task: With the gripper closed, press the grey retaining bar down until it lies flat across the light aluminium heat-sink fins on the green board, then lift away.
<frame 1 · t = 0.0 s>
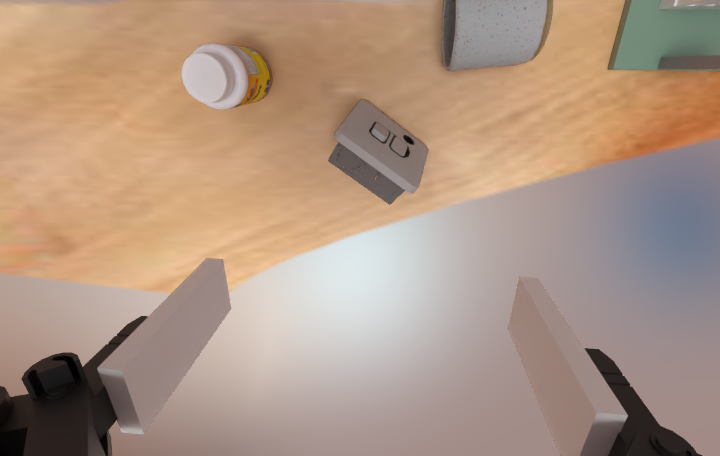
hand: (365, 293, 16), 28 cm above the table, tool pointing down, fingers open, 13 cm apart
supplement bottle: (249, 75, 40), on the table
ceramic mug: (480, 11, 35), on the table
electrical switch: (383, 143, 41), on the table
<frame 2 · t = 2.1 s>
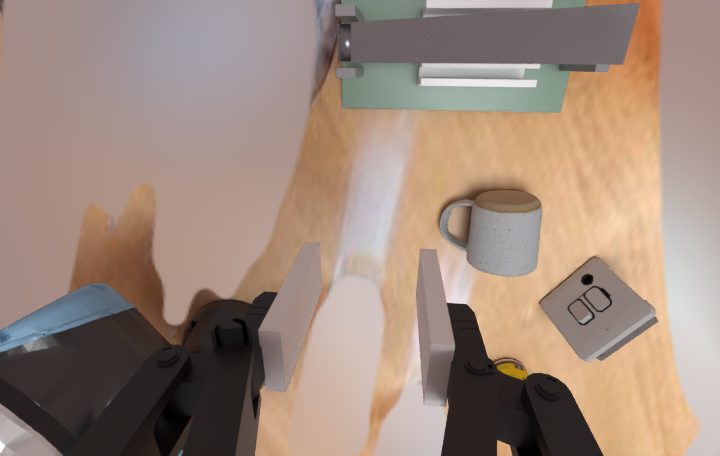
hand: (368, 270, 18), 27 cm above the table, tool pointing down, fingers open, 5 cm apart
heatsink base: (453, 48, 37), on the table
supplement bottle: (505, 369, 54), on the table
grey retaining bar: (454, 40, 26), point 13 cm above the table, hinge at 30.0°
ceramic mug: (483, 220, 45), on the table
electrical switch: (580, 288, 47), on the table
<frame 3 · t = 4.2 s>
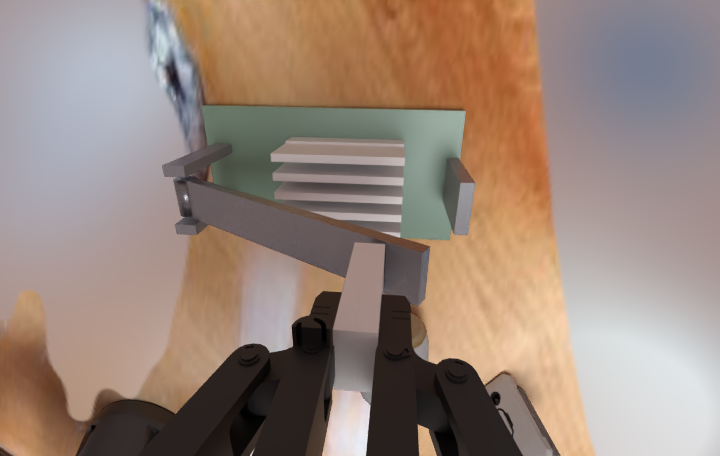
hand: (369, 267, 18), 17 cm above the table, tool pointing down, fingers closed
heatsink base: (332, 173, 34), on the table
grey retaining bar: (274, 225, 23), point 13 cm above the table, hinge at 29.6°, touching gripper
ceramic mug: (381, 333, 42), on the table
electrical switch: (494, 399, 45), on the table
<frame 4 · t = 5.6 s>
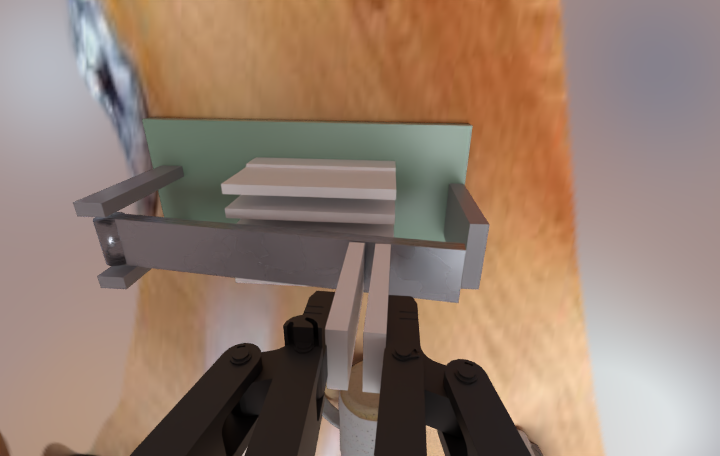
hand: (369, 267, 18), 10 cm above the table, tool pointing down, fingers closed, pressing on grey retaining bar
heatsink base: (309, 200, 28), on the table
grey retaining bar: (267, 254, 20), point 9 cm above the table, hinge at 6.2°, touching gripper
ceramic mug: (368, 383, 36), on the table
electrical switch: (503, 455, 38), on the table
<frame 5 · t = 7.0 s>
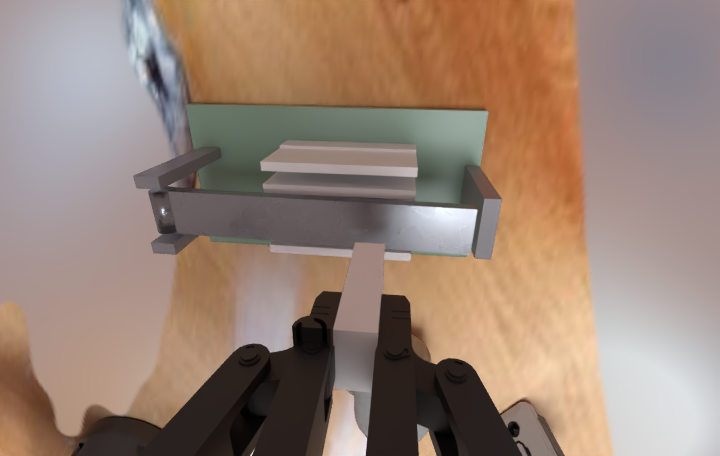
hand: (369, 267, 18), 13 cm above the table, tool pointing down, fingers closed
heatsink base: (334, 180, 30), on the table
grey retaining bar: (305, 219, 23), point 8 cm above the table, hinge at 1.5°
ceramic mug: (381, 355, 38), on the table
electrical switch: (511, 427, 41), on the table
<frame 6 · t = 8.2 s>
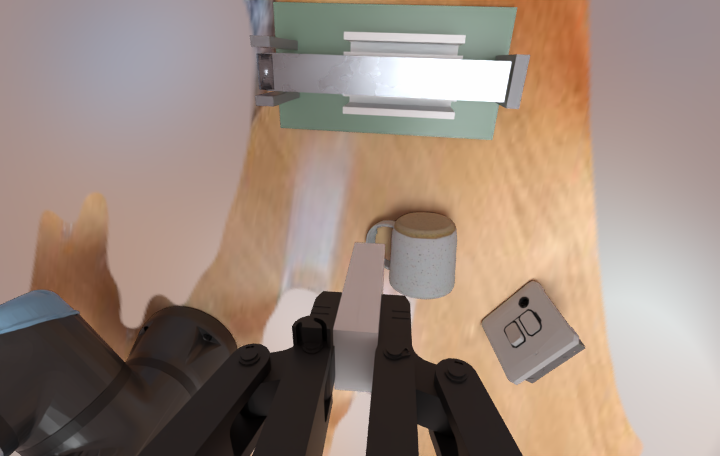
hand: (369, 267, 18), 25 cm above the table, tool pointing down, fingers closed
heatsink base: (387, 73, 38), on the table
grey retaining bar: (377, 76, 30), point 8 cm above the table, hinge at 1.5°
ceramic mug: (410, 239, 46), on the table
electrical switch: (520, 309, 48), on the table
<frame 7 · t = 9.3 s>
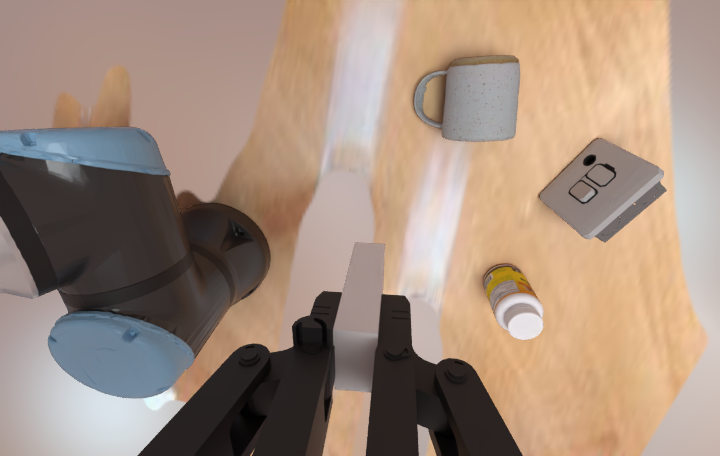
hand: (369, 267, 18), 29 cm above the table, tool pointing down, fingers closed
supplement bottle: (502, 278, 51), on the table
ceramic mug: (461, 99, 42), on the table
electrical switch: (581, 177, 44), on the table
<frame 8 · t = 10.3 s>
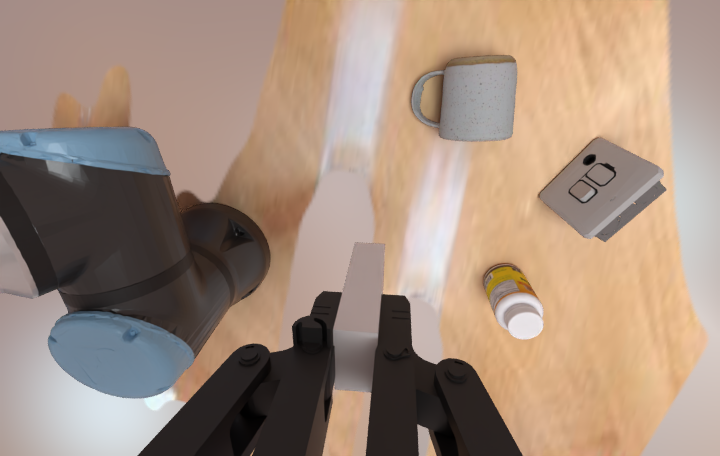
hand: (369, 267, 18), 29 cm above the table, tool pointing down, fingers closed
supplement bottle: (502, 278, 51), on the table
ceramic mug: (458, 99, 42), on the table
electrical switch: (581, 177, 44), on the table
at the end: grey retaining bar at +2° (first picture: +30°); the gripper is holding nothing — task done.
